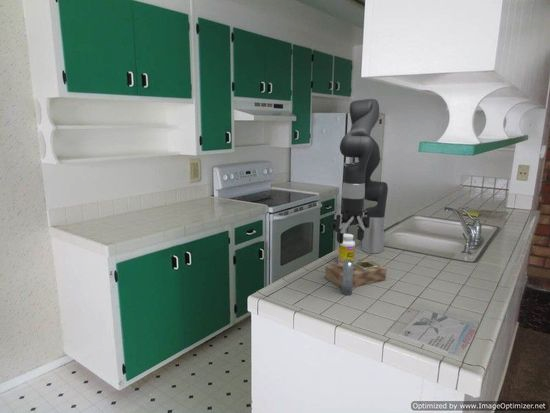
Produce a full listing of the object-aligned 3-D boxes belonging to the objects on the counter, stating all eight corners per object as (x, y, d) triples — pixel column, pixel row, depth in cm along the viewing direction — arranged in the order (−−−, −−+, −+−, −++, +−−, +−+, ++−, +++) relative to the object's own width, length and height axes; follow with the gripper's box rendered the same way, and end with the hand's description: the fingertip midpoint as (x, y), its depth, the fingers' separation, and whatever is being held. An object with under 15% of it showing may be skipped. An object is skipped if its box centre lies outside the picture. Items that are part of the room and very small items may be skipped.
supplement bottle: (346, 267, 166) (348, 238, 163) (334, 262, 171) (336, 234, 168) (357, 264, 170) (359, 235, 167) (345, 260, 175) (347, 232, 172)
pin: (347, 290, 144) (349, 259, 141) (353, 294, 141) (356, 262, 138) (339, 292, 142) (341, 260, 140) (345, 296, 139) (347, 264, 137)
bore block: (365, 269, 164) (366, 257, 163) (385, 280, 154) (386, 267, 153) (325, 277, 155) (325, 265, 154) (343, 289, 145) (344, 275, 144)
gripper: (362, 192, 140) (359, 236, 144) (329, 195, 134) (326, 241, 137) (376, 196, 134) (373, 242, 137) (342, 199, 127) (339, 247, 131)
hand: (350, 241), depth 137 cm, fingers open, 8 cm apart
